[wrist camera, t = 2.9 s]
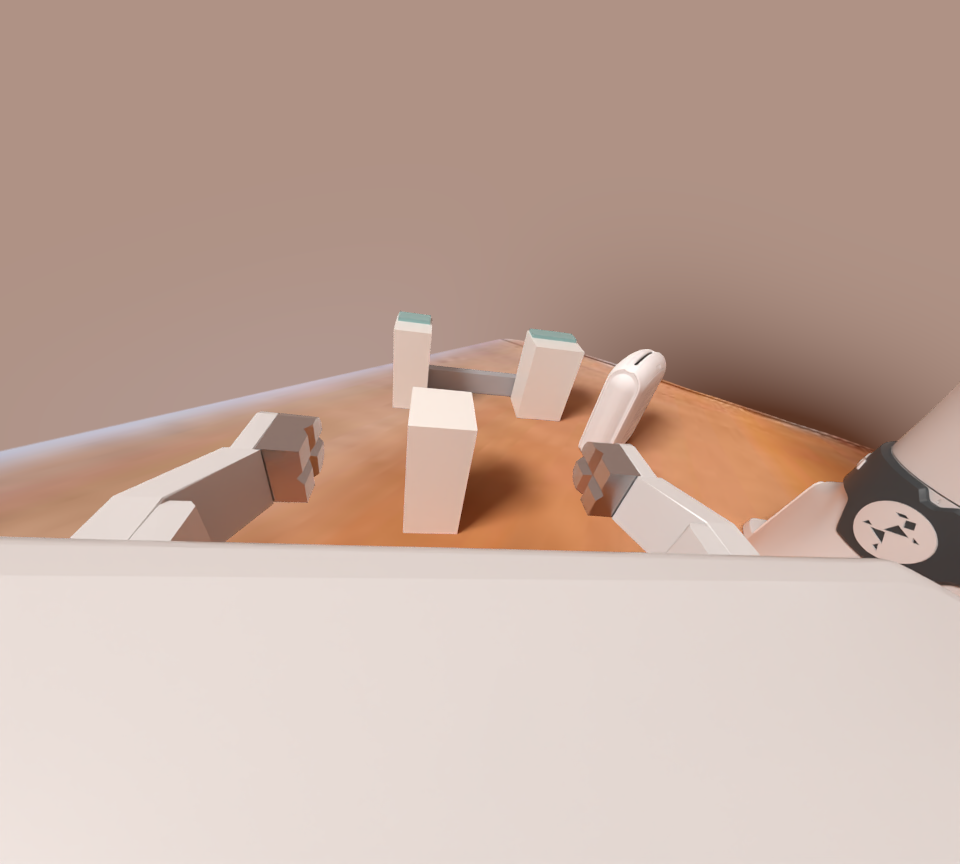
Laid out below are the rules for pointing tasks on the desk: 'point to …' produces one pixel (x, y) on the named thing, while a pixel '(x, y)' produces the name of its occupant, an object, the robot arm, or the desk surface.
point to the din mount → (532, 389)
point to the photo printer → (624, 398)
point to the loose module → (438, 459)
